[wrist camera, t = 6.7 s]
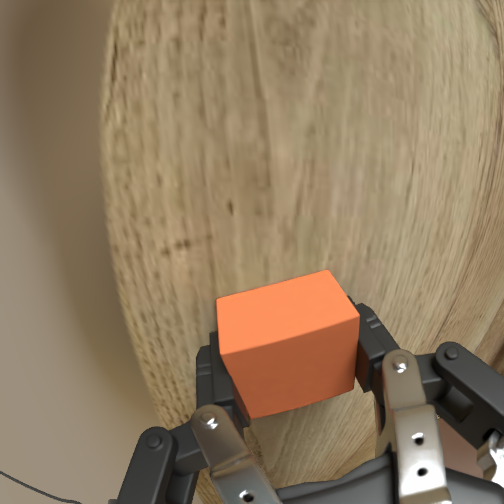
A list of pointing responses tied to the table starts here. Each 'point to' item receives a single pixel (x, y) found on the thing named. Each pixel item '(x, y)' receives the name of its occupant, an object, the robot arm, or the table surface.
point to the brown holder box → (458, 451)
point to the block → (289, 343)
